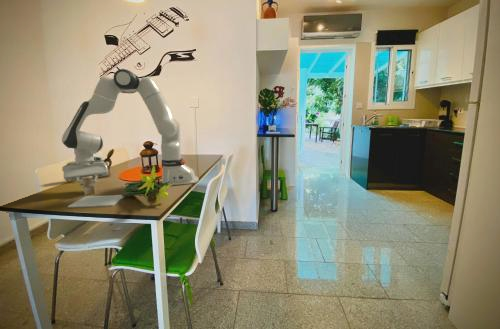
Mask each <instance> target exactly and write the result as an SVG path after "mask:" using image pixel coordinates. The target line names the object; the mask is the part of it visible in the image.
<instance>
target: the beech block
mask: <svg viewBox="0 0 500 329" xmlns="http://www.w3.org/2000/svg"><path fill="white" fill-rule="evenodd" d="M93 178H94V177H92V176H85V177H82V181H83V185H82V186H83V191H84V196H89V195H94V194H96V192H95V186H94V184H93Z"/></svg>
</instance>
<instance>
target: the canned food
mask: <svg viewBox="0 0 500 329" xmlns="http://www.w3.org/2000/svg"><path fill="white" fill-rule="evenodd" d="M70 164H76V162H75V161H68V162H67V163H66V165H70ZM80 181H82V179H80ZM69 182H70V183H79V182H78V181H77V179H76V180H69Z"/></svg>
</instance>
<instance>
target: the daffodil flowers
mask: <svg viewBox="0 0 500 329" xmlns="http://www.w3.org/2000/svg"><path fill="white" fill-rule="evenodd" d="M157 174H158V173H157V172H156V167H155V164H153V165H152V169H151V172H150V175H147V174H138V176H139V177H140V178H141V179H139V181H134V182H132V181H131V182H126V183H124V185H125V188H123V191H124V192H125V193H124V194H121V195H122V196H123V197H124V196H125V197H129V196H141V197H144V199H145V200H146V202H148V198H147V196H148V197H149V198H152V199H154V197H153V196H152V194H154V195H155V194H156V195H157V197H156V204H158V202H159V200H160V198H163V199H169V192H165V191H166V190H167V189H170V188H171V186H173V185H172V184H171V185H167V184H168V183H169V182H170V181H169V182H166V183H164V184H163V183H161V184H158V183H157V182H156V181H157V180H158V179H161V178H162V175H159V176H157ZM125 197H124V198H125Z"/></svg>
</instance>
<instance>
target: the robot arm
mask: <svg viewBox="0 0 500 329" xmlns="http://www.w3.org/2000/svg"><path fill="white" fill-rule="evenodd" d="M94 88H95V89H94V91H93V94H92V96H91V98H89V100H87V101H86V100H85V101H83V102H82V103H81V105H79V108H78V109H77V111H76V113H75V115H74V116H73V118H72V120H71V122H70V124H69V126H68V127H67V128H66V129H65V131H64V133H63V135H62V136H61V142H62V144H63V145H64V146H65V147H67V149H73V151H74V156H75V157H74V162H76V164H70V165H67V164H65V165H63V166H62V167H61V168H62V172H63V179H64V180H65V181H67V182H68V181H69V182H70V180H76V179H77V181H78V182H77V183H78V184H79V185H80V186H83V181H80V179H82V177H85V176H92V178H94V179H93V185H94V184H97V180H98V179H99V178H98V177H99V176H107V175H108V168H107V166H106V164H105V163H104V161H103V160H104V159H103V158H104V157H101V156H100V157H98V156H94V154H97V153H98V152H99V151H101V150H102V148H103V147H104V143H103V142H104V140H103V138H102V137H101V136H100V135H99V134H95V133H90V132H86V131H81V130H80V129H81V128H82V126H83V124H84V122H85V120H86V118H88V117H89V116H91V115H103V114H108V113H111V111H113V109H114V108H115V105H116V102H117V99H118V97H119V94H120V93H121V94H122V93H123V94H134V93H138V94H139V95H140V97H141V98H142V101H143V102H144V104H145V106H146V108H147V110H148V111H149V113H150V115H151V118H152V121H153V123H154V125H155V127H156V129H157V132H158V134H160V135H161V142H160V143H161V145H160V147H161V148H160V150H161V169H162V175H161V176H162V177H161V184H164V183H166V182H169V181H170V182H169V183H168V184H166V186H167V185H171V184H172V185H171V186H177V185H187V184H188V185H189V184H190V185H191V184H196V183H197V182H199V179H200V178H199V176H196V175H195V171H194V169H193V168H191V167H190V166H188V165H187V164H185V159H184V158H182V155H181V153H182V152H181V127H180V123H179V121H178V120H177V119H176V118H174V116H173V114H172V111H171V110H170V107H169V104H168V102H167V101H166V98H165V97H164V95H163V93H162V92H161V89H160V88H159V86H158V85H157V84H156V82H155V81H154V80H153V78H151V77H149V76H144V77H143V76H142V77H141V78H140V77H139V76H138V75H136V74H135V73H134V72H132V71H131V70H128V69H125V68H121V69H117V70H116V71H115V72H114V75H113V77H112V78H111V77H107V76H105V77H104V76H103V77H101V78H99V80H98V82H97V84H96V86H95V87H94Z"/></svg>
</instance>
